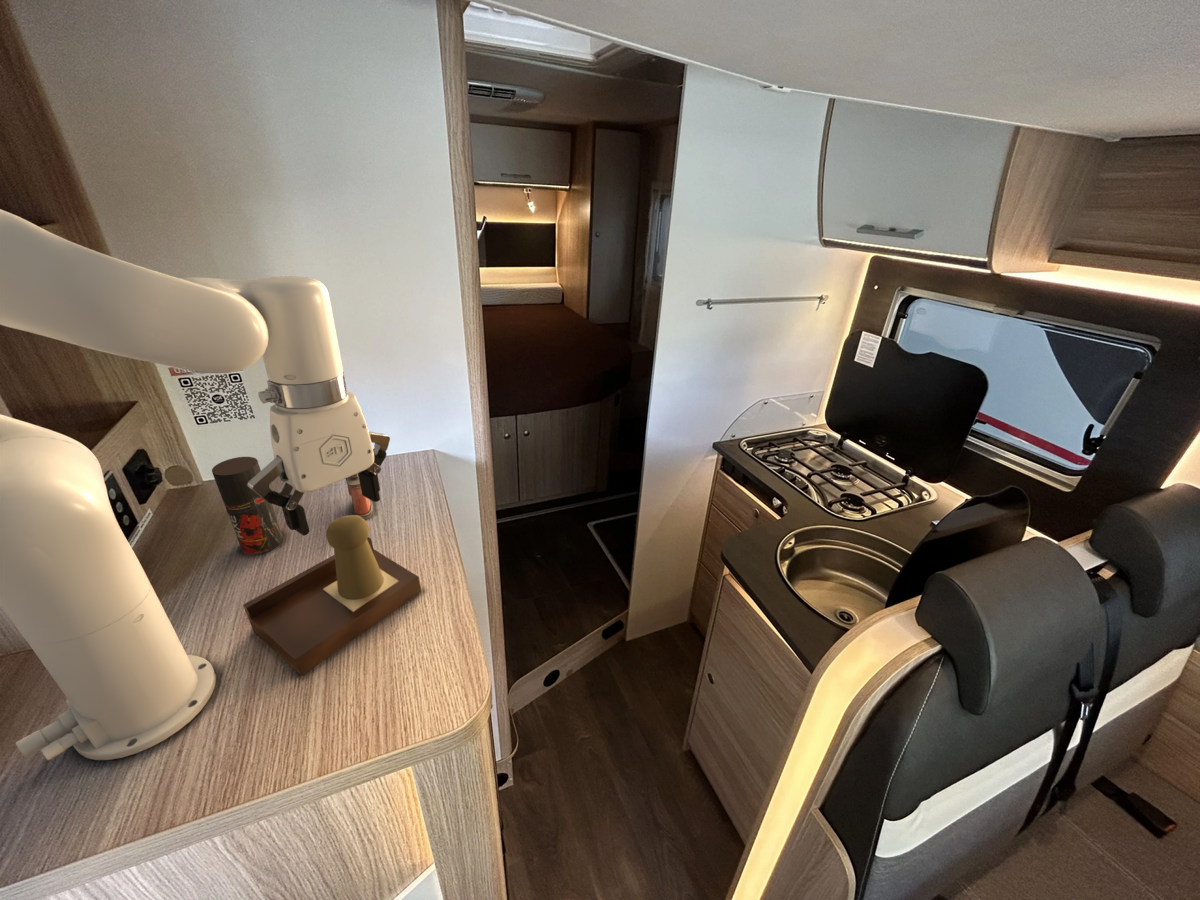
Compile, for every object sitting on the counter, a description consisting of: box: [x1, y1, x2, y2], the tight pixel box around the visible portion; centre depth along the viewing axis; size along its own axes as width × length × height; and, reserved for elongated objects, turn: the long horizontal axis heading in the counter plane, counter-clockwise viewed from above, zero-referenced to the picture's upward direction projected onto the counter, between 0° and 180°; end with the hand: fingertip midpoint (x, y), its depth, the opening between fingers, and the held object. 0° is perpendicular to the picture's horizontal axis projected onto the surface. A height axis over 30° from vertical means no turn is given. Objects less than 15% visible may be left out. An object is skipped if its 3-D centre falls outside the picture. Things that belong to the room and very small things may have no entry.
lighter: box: [344, 473, 374, 520], centre depth 91 cm, size 8×3×10 cm, turn 25°
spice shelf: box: [242, 536, 422, 677], centre depth 70 cm, size 18×12×5 cm, turn 146°
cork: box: [325, 514, 384, 600], centre depth 69 cm, size 6×6×11 cm
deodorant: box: [211, 456, 284, 555], centre depth 80 cm, size 6×6×15 cm
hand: (337, 513), depth 65 cm, fingers open, 9 cm apart
